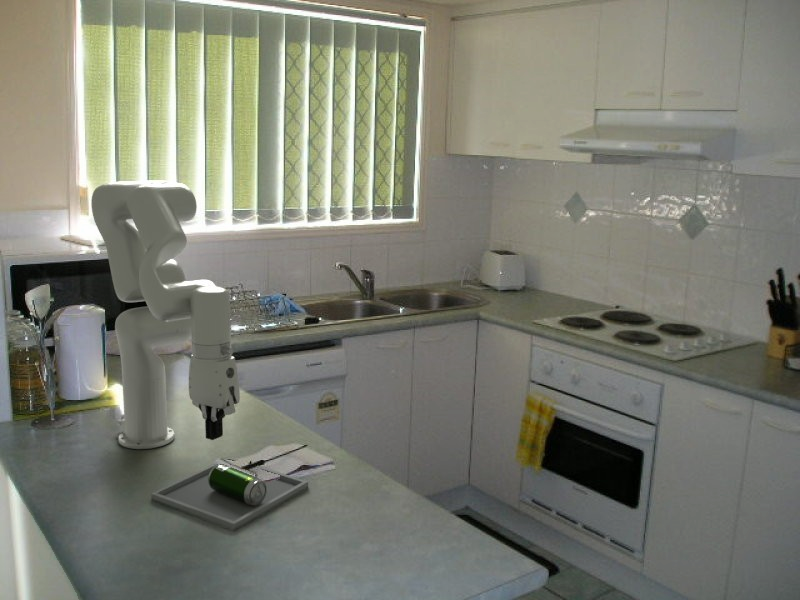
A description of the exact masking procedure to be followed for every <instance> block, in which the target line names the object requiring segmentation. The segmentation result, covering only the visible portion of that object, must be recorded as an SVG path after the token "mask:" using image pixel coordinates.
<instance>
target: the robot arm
mask: <svg viewBox="0 0 800 600" xmlns="http://www.w3.org/2000/svg"><path fill="white" fill-rule="evenodd" d="M197 207H198V206H197V199H196V196H195V194H194V193H193V191H192V190H191V188H189V187H188V185H186V184H184V183H181V182H174V181H168V180H141V181H139V180H134V181H132V180H131V181H129V180H128V181H127V180H126V181H115V182H114V181H113V182H108V183H103V184H101V185H99V186H97V187H96V188H95V189H94V190H93V192H92V196H91V212H92V216H93V220H94V224H95V226H96V227H97V230H98V232H99V234H100V236H101V238H102V240H103V243H104V245H105V248H106V252H107V253H106V254H107V259H108V263H109V268H110V273H111V278H112V283H113V288H114V292H115V294H116V296H117V298H118V300H120V301H121V302H125V303H138V302H140V303H141V302H145V303H146V305H147V306H140V307H134V308H129V309H126V310H124V311H123V312H121V313H120V314H119V315H118V316H117V317H116V319H115V324H114V330H115V335H116V340H117V343H118V348H119V349H118V350H119V353H120V354H119V355H120V362H121V378H122V379H121V380H122V395H123V397H122V399H123V413H122V414H121V416H120V419H117V420H116V425H117V426H120V427H122V432H120V433H119V434H118V439H117V441H118V444H119V445H120V446H122V447H124V448H128V449H134V450H147V449H155V448H156V449H157V448H159V447H162V446H163V447H164V446H165V445H167V444H169V443H171V442H172V441H173V440H175V435H176V434H175V431H174V430H173V429H172V428H171V427H169V426H168V409H167V407H168V406H167V384H166V383H167V382H166V366H165V363H164V361H163V360H162V359H161V357H160V356H159V355H158V354H157V353H156V352H155V351H154V349H156V348H160V347H165V346H171V345H175V344H177V345H178V344H181V343H184V342H187V341H189V340H190V339H191V355H190V360H189V366H188V367H189V368H188V369H189V370H188V394H189V395H188V396H189V399H190V400H191V402H192V405H193V406H195V407H196V408H198V409H199V410H200V412H201V415H202V418H203V420H205V421H204V424H205V425H204V427H205V428H204V429H205V439H207V440H211V441H214V440H216V439H219V438H221V437H222V436H224V434H223V433H224V430H223V429H224V426H223V424H224V423H223V419H225V417H226V416H230V415H233V414H235V413H236V407H235V406H236V405H238V404H239V403H240V401H241V400H240V399H241V395H240V394H241V391H240V379H239V373H238V368H237V367H238V366H237V363H236V362H237V361H236V358H235V356H233V354H234V348H232V332H231V331H232V329H231V323H232V322H231V295H230V292H229V291H228V290H227V288H225V287H222V286H218V285H217V284H215V282H213V281H212V280H209V279H194V280H186V277H185V273H184V270H183V267H182V266H181V264H180V263H179V262H178V261H177V260H176V259H174V258H176V257H177V256H179V255H180V254H181V253H182V252H183V250H185V248H186V246H187V241H188V239H187V236H186V234H185V232H184V229H183V227H182V225H181V223H184V222H189V221H191V220H193V218H194V217H195V215H196V213H197ZM127 220H132V221H133V224H134V225H135V227H134V226H133V225H132V224H131V223H130V222H129V221H127Z"/></svg>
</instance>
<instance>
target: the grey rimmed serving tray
mask: <svg viewBox="0 0 800 600" xmlns="http://www.w3.org/2000/svg"><path fill="white" fill-rule="evenodd" d="M222 460H232V461H236V460H237V461H238V460H239V459H237V458H234V457H231V456H228V457H226V458H223V459H222ZM217 465H218V464H217V462H215V463H212V464H211V465H208V466H206V467H205V468H204V467H203V468H202V469H200V470H198V471H195V472H194V473H191V474H190V475H188V476H185V477H183V478H181V479H179V480H176V481H175V482H172V483H170V484H167V485H166V486H163V487H161V488H159V489H157V490H155V491H153V492H152V493H150V500H151V501H152V502H154V503H157V504H160V505H162V506H165V507H168V508H170V509H173V510H174V511H175V510H176V511H178V512H181V513H184V514H186V515H188V516H192V517H194V518H198V519H199V520H203V521H206V522H208V523H211V524H213V525H215V526H219V527H222V528H225V529H227V530H230V531H231V532H232V531H233V532H236V531H238V530H239V529H241V528H242V527H245V526H246V525H248V524H249V523H251V522H253V521H255V520H257V519H259V518H260V517H261V516H263V515H265V514H267V513H268V512H270V511H272V510H274V509H276V508H277V507H279V506H280V505H282V504H284V503H285V502H288V501H289V500H291V499H293V498H294V497H296V496H297V495H300V494H301V493H303V492H305V491H306V490H308V489H309V481H308V480H305V479H301V478H297V477H295V476H292V475H288V474H285V473H282V472H279V471H275V470H272V469H269V468H266V467H263V466H260V465H257V468H260V469H262V470H265V471H267V472H271V473H274V474H278V475H280V479H278V480H275V481H270V482H266V485H267V494H266V496H265V498H264V500H263V501H262V502H261V503H260V504H258V505H255V506H254V505H248V504H246V503H243V502H241V501H239V500H236V499H234V498H232V497H229V496H227V495H225V494H222V493H220V492H218V491H215V490H213V489H212V488H211V487H210V485H209V483H208V475H209V473H210V471H211V470H212V468H214V467H215V466H217Z"/></svg>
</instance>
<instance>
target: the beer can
mask: <svg viewBox="0 0 800 600" xmlns="http://www.w3.org/2000/svg"><path fill="white" fill-rule="evenodd" d="M208 483H209V485H210V487H211V488H212V489H213V490H215V491H218V492H220V493H222V494H225V495H227V496H229V497H232V498H234V499H236V500H239V501H241V502H243V503H246V504H248V505H254V506H255V505H258V504H260V503H261V502H262V501H263V500H264V498H265V496H266V494H267V485H266V483H265V482H264V481H262V480H261V479H259V478H257V477H254V476H252V475H249V474H247V473H244V472H242V471H239V470H237V469H234V468H232V467H229V466H227V465H224V464H220V465H217V466H215V467H214V468H212V470H211V471H210V473H209V475H208Z"/></svg>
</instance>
